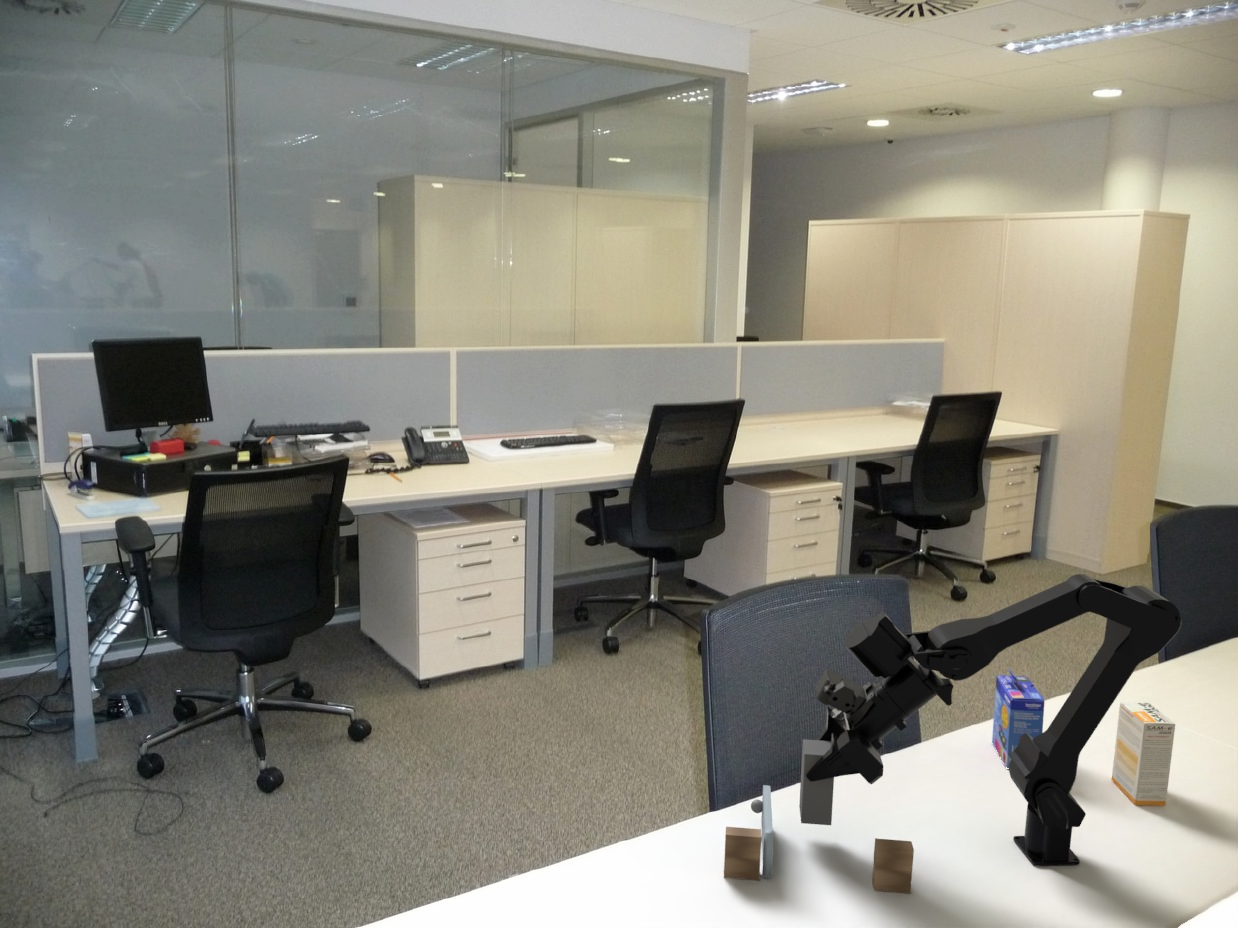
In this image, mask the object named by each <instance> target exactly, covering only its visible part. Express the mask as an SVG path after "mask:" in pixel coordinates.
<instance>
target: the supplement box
mask: <svg viewBox="0 0 1238 928" xmlns="http://www.w3.org/2000/svg"><path fill="white" fill-rule="evenodd" d="M1175 731H1176V723H1175V722H1174V721H1172V719H1170V718H1168V716H1166V715H1165V714H1164V713H1162V712H1161V710H1159V709H1157V708H1156V707H1155V705H1153V704H1152V703H1151V702H1148V701H1147V702H1146V701H1143V702H1142V701H1137V702H1136V701H1120V703H1119V707H1118V719H1117V727H1116V735H1115V745H1114V755H1113V765H1112V773H1111V781H1112V780H1113V781H1114V782H1113V781H1112V782H1113V783H1114V784H1115V785H1116V786H1117V787H1118V788H1119V790H1121V791H1122V792H1123V793H1124V795H1126V797H1128V799H1129V800H1130V801H1131V802H1132V803H1133V804H1134V805H1136V806H1144V805H1145V806H1147V805H1150V807H1152V806H1155V807H1156V806H1159V807H1164V806H1166V805H1167V797H1168V796H1167V795H1168V789H1169V782H1170V781H1169V779H1170V773H1171V772H1170V770H1171V765H1172V763H1171V762H1172V756H1173V749H1174V748H1173V746H1174V737H1175ZM1151 805H1152V806H1151Z"/></svg>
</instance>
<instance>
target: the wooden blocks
mask: <svg viewBox="0 0 1238 928" xmlns="http://www.w3.org/2000/svg"><path fill="white" fill-rule="evenodd" d="M761 849H762V828H750V827H748V828H747V827H736V826H726V827H725V841H724V862H723V878H725V879H735V880H746V881H747V880H748V881H758V882H759V881H760V869H761V868H760V867H761V855H762V854H761V851H762V850H761ZM873 850H874V852H873V863H872V874H871V875H872V876H871V883H872V886H873V887H872V888H873V891H875V892H876V891H877V892H887V893H889V892H890V893H899V894H901V893H902V894H911V893H912V891H911V890H912V878H913V876H912V875H913V865H914V864H913V863H914V852H915V849H914V846H913V841H910V840H901V839H900V840H899V839H887V838H878V837H877V838H874V849H873Z"/></svg>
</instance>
